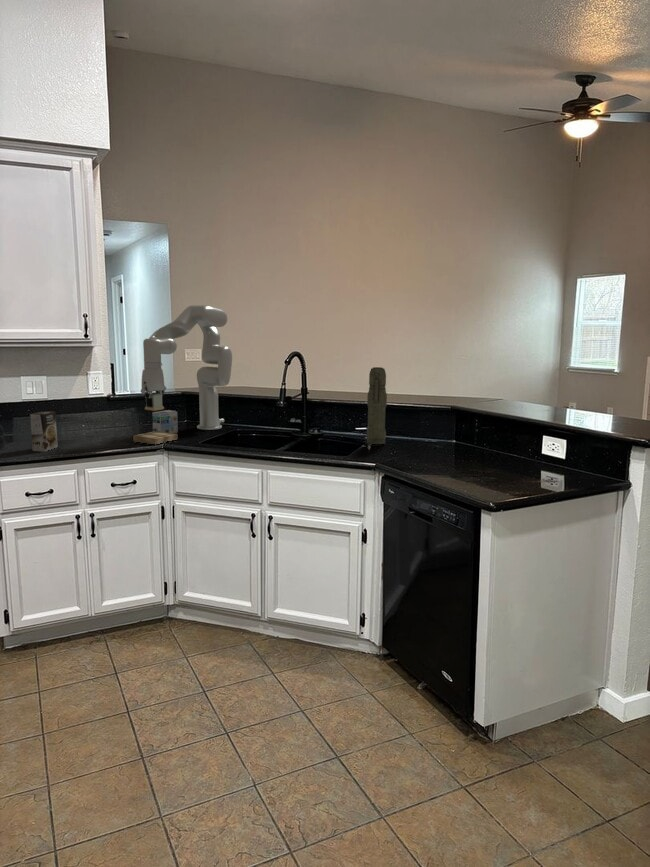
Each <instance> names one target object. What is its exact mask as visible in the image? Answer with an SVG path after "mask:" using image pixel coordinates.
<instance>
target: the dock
mask: <svg viewBox="0 0 650 867" xmlns="http://www.w3.org/2000/svg"><path fill="white" fill-rule="evenodd" d="M132 437H133V438H132V439H133V442H134V441H135V442H134V443H136V442H141V443H140V444H142V443H147V444H146V445H148V444H155V445H156V444H160V443H163V442H167V441H172V440H177V439H178V438H179V436H178V433H166V432H159V431H154V432H153V431H150V432H146V433H140V434H139V433H138V434H135V435H132ZM178 440H179V439H178ZM160 445H161V444H160ZM156 446H157V445H156Z"/></svg>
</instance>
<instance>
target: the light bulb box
mask: <svg viewBox="0 0 650 867" xmlns="http://www.w3.org/2000/svg"><path fill="white" fill-rule="evenodd" d="M151 414H152V416H151V417H152V432H154V431H159V432H166V433H172V434H178V432H179V428H178V426H179V425H178V422H179V421H178V411H176V410H170V409H168V410H167V409H166V410H159V411H152V413H151Z"/></svg>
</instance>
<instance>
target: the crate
mask: <svg viewBox="0 0 650 867" xmlns="http://www.w3.org/2000/svg"><path fill="white" fill-rule="evenodd" d="M151 398H152V407H147V403H146V404H145V407H144V410H147V411H152V412H157V411H163V410H165V406H163V396H162V394H161V393H156V392H152V396H151Z"/></svg>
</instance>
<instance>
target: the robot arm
mask: <svg viewBox="0 0 650 867" xmlns="http://www.w3.org/2000/svg"><path fill="white" fill-rule="evenodd" d="M227 322H228V315H227V313H226V312H225V311H224V310H223V309H220V308H216V307H212V306H209V305H193V304H192V305H189V306H187V307H185V309H184V310H183V311H182V312H181V313H180V314H179V315H178V316H177V317H176V318H175V319H174V320H173V321H171V322H169V323H168V324H166V325H164V326H162V327H160V328H158V329H157V330H156V331H154V332H153V333H152V334H151V335H150V337H148V338H145V339H144V340H143V344H142V345H143V346H142V348H143V365H144V366H143V368H144V369H142V375H141V389H140V393H141V394H142V395H143V397H144V398H145V402H146V403H147V407H152V398H151V396H152V393H154V392H155V393H161V394H162V397H163V396H164V393H165V391H167V387H166V385H165V377H164V371H163V369H162V366H163V363H162V355H171V354H173V353H175V352H176V351H177V347H178V346H177V345H178V344H177V342H176V341H175V339H179V338H182V337H185V336H187V335H188V334H189V333H190V331H192V329H193V328H194V327H195V326H196V325H198V326H199V328H200V329H201V332H202V336H203V337H202V339H203V340H202V349H201V359H202V362H203V363H205V364H208V365H217V366H202V367H200V368H199V369H198V370H197V373H196V381H197V385H198V396H199V397H198V400H199V424H198V425H197V426H196V428H197V429H198V430H201V431H202V430H203V431H211V430H212V431H215V430H220V429H222V428H223V427H222V426H223V425H222V424H221V423H224V422H225V419H224V418H219V392H218V389H217V387H226V386H227V385H228V384H229V383H230V380H231V374H232V366H233V353H232V350H231V348H230V347H228V346H226V345H221V334H220V331H219V330H218V328H223V327H224V326H225V325H226V324H227Z"/></svg>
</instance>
